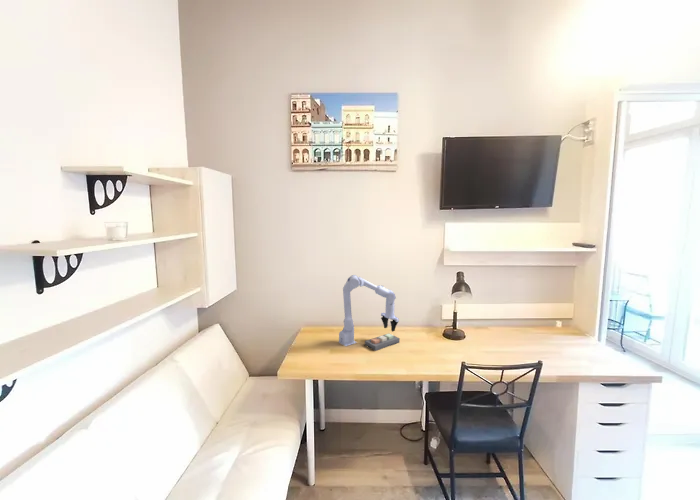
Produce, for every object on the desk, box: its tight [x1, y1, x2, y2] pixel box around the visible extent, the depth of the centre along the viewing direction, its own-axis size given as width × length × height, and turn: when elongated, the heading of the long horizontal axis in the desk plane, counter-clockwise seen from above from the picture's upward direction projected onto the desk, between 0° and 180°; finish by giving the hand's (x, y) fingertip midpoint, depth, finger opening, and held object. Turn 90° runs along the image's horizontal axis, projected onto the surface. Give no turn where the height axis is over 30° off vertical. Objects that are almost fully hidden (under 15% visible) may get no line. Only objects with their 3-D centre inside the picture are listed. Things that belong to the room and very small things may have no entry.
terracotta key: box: [370, 337, 380, 344], centre depth 209 cm, size 4×4×2 cm
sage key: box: [384, 333, 395, 339], centre depth 216 cm, size 4×4×2 cm
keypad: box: [364, 332, 401, 352], centre depth 213 cm, size 21×10×3 cm, turn 127°
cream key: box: [377, 335, 387, 342], centre depth 213 cm, size 4×4×2 cm
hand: (389, 329), depth 216 cm, fingers open, 6 cm apart
